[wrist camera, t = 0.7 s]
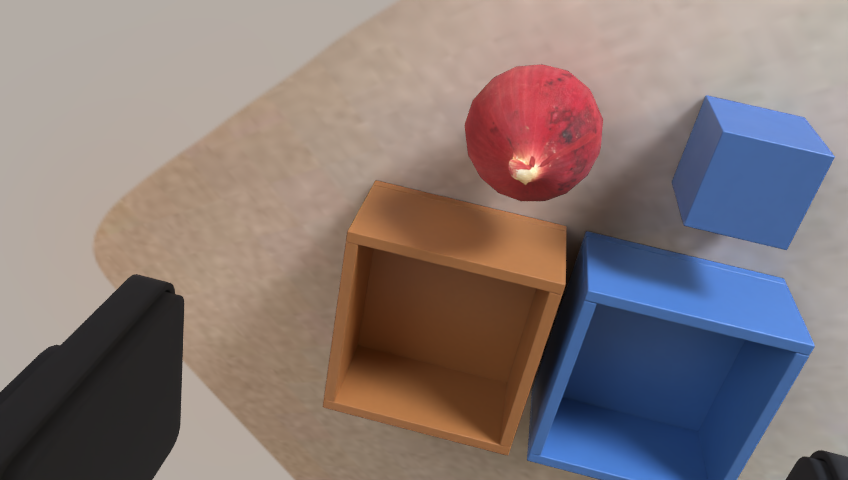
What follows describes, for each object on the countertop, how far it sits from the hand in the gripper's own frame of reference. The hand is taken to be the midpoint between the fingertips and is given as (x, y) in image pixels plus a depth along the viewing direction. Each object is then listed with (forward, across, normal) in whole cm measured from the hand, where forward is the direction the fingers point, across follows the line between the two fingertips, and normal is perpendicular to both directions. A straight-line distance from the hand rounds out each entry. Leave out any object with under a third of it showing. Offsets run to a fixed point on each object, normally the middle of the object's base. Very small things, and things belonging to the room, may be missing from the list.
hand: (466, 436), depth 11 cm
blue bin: (+26, -10, +14) cm, 32 cm away
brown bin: (+26, +1, +14) cm, 30 cm away
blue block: (+26, -11, +3) cm, 28 cm away
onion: (+26, -1, +3) cm, 26 cm away
